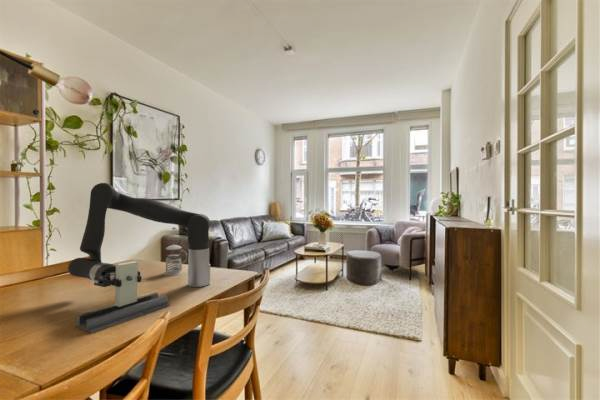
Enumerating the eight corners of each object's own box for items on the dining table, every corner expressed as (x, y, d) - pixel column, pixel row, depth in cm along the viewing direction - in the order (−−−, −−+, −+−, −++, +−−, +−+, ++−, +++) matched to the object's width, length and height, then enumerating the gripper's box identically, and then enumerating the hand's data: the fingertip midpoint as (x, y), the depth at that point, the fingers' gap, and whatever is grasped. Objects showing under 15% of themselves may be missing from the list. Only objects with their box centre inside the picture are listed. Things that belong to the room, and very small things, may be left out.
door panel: (132, 299, 100) (133, 261, 100) (138, 302, 99) (139, 262, 99) (114, 305, 95) (115, 264, 95) (120, 307, 93) (121, 265, 93)
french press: (164, 271, 155) (165, 226, 155) (187, 269, 159) (187, 226, 159) (162, 276, 146) (163, 228, 146) (186, 274, 150) (187, 227, 150)
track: (153, 300, 111) (154, 291, 111) (169, 305, 106) (169, 296, 106) (75, 325, 88) (75, 314, 88) (90, 333, 83) (90, 322, 83)
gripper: (83, 267, 98) (107, 275, 90) (126, 260, 111) (151, 266, 102) (82, 288, 98) (107, 298, 90) (125, 279, 111) (150, 287, 102)
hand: (130, 281), depth 96 cm, fingers closed on door panel, 6 cm apart
